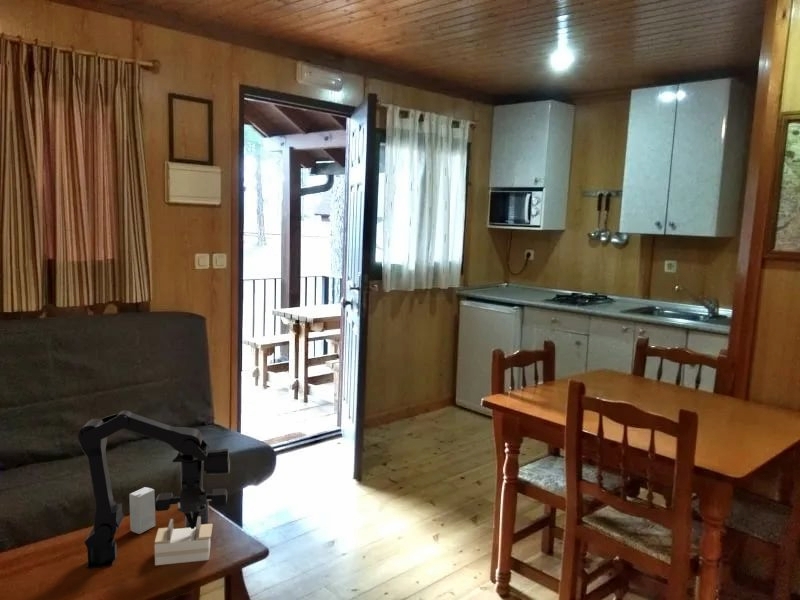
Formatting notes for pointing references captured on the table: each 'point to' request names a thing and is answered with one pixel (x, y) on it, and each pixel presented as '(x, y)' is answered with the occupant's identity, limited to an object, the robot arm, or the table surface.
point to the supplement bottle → (203, 514)
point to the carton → (182, 548)
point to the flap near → (165, 533)
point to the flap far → (203, 530)
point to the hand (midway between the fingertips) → (192, 528)
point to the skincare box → (142, 510)
